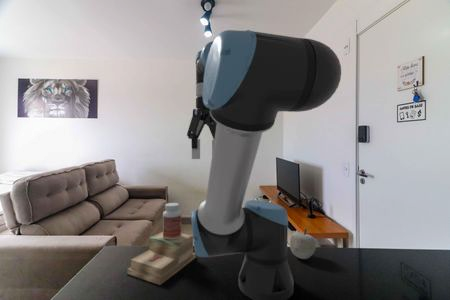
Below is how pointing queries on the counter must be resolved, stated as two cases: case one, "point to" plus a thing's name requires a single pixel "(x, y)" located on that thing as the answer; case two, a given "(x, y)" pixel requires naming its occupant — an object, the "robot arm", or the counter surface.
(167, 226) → the pill bottle
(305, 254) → the decorative object
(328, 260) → the counter surface
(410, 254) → the counter surface
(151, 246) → the stand
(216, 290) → the counter surface
